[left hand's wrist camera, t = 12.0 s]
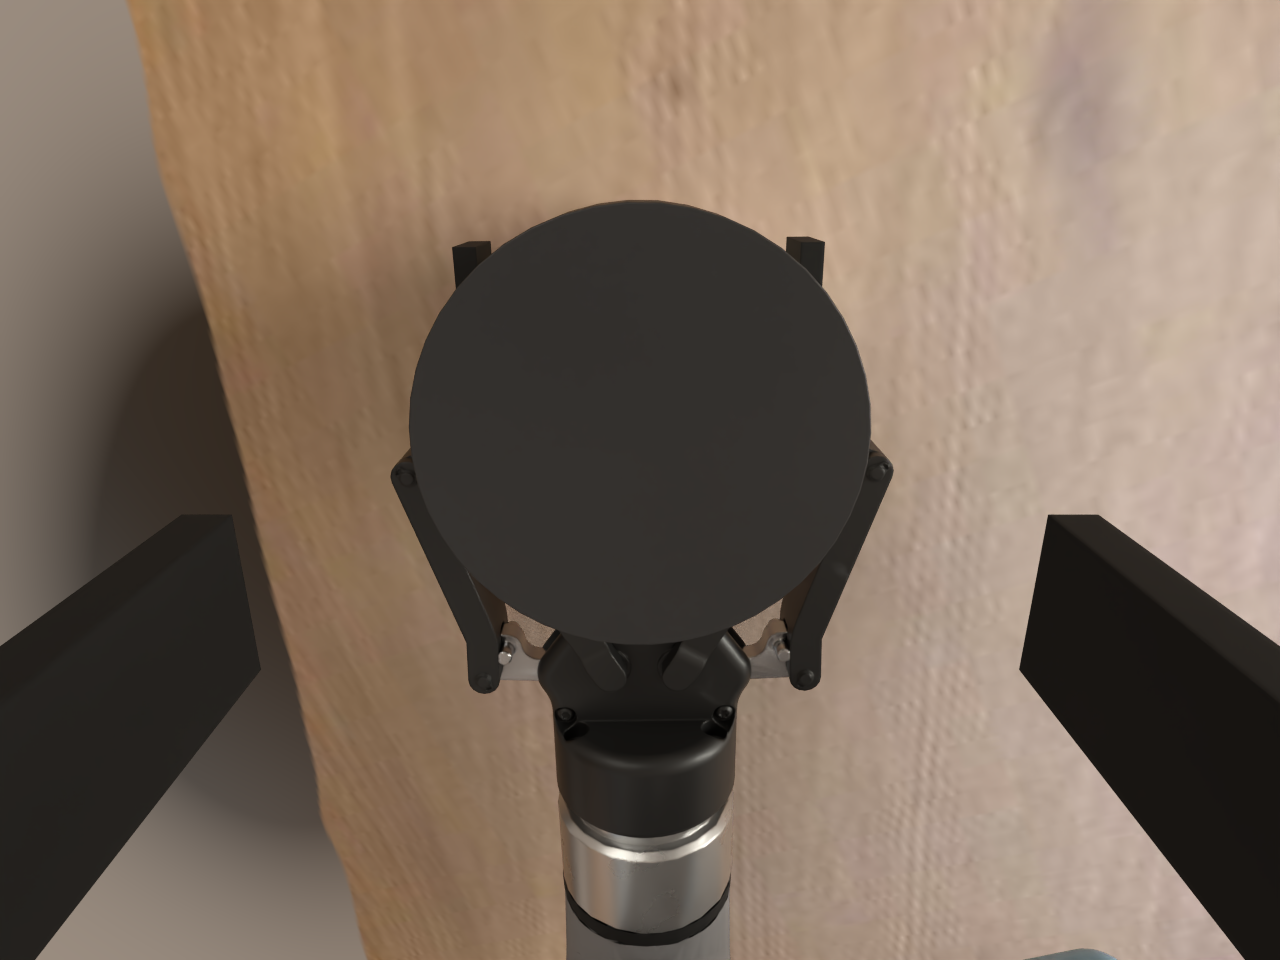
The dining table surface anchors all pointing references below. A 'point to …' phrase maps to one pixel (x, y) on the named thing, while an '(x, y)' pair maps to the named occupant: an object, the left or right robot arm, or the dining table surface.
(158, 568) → the left robot arm
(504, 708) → the dining table surface
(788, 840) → the dining table surface
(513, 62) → the dining table surface
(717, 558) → the lid
